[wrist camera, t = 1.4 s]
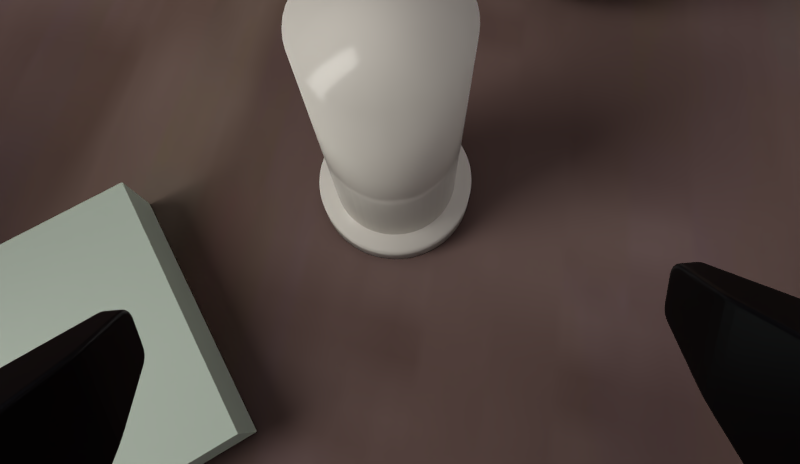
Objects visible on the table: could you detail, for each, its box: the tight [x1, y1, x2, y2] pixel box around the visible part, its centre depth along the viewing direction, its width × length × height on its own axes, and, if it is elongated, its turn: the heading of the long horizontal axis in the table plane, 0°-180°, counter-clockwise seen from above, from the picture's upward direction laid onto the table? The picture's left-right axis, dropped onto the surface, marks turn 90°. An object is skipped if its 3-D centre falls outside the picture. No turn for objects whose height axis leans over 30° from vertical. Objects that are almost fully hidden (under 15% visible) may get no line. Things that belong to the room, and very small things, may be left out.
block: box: [0, 182, 257, 464], centre depth 21 cm, size 11×11×2 cm
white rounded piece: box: [282, 0, 480, 259], centre depth 19 cm, size 6×6×11 cm
